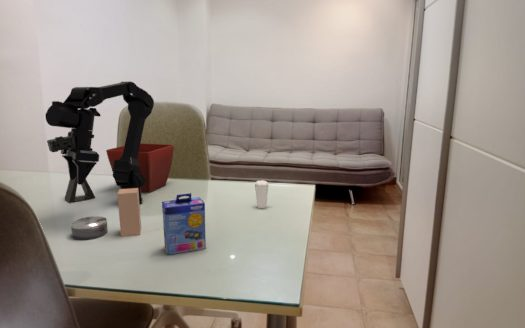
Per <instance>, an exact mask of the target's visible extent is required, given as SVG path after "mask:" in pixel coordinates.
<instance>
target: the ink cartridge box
mask: <svg viewBox="0 0 525 328" xmlns="http://www.w3.org/2000/svg"><path fill="white" fill-rule="evenodd" d="M182 197H183V198H182ZM161 208H162V210H161V211H162V221H163V222H162V223H163V225H162V227H163V238H164V239H163V240H164V249H165V252H166V255H167V256H170V255H174V254H181V253H187V252H193V251H199V250H205V249H206V248H207V243H206V242H207V241H206V202H205V201H203V200H202V198H201V197H200V196H199V197H192V192H188V193H181V194H176V198H175V199H172V200H171V199H170V200H163V201H161Z"/></svg>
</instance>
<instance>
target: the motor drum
mask: <svg viewBox="0 0 525 328" xmlns="http://www.w3.org/2000/svg"><path fill="white" fill-rule="evenodd" d="M70 228H71V236H72V239H73V240H77V241H88V240H95V239H99V238H101V237H103V236H105V235H107V234H108V231H109V230H108V219H107V217H104V216H100V215H99V216H97V215H96V216H95V215H93V216H86V217H82V218H78V219H76V220H73V221H72V222H71V223H70Z"/></svg>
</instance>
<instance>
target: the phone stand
mask: <svg viewBox="0 0 525 328" xmlns="http://www.w3.org/2000/svg"><path fill="white" fill-rule="evenodd" d="M78 185H79V184H78V180H77V175H76V177H75V179H74V180H71V179H70V178H69V181H68V184H67V188H66V191H65V196H64V200H65V201H66V202H67V203H69V204H75V203H79V202H86V201H91V200H95V199H96V196H95V194H94V192H93V190H92V189H91V186H90V183H89V182H88V180H87V178H86V179H85V181H84V182H83V184H82V185H80V186H81V188H82V191H83V193H84V195H79V196H77V195H76V194H77V188H78Z"/></svg>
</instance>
